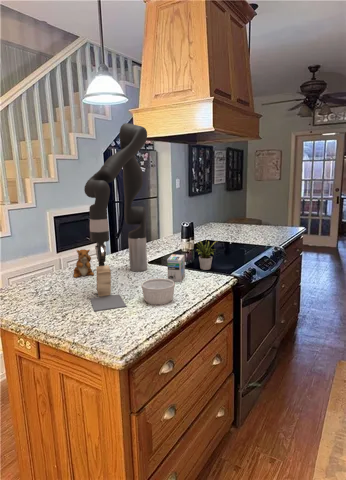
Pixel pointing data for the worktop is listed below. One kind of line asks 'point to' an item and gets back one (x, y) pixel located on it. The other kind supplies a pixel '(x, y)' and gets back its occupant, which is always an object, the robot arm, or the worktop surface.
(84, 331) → the worktop surface
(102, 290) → the maple block
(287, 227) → the worktop surface
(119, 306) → the slate mat
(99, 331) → the worktop surface
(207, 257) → the house plant
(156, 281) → the ramekin
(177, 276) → the light bulb box
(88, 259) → the stuffed squirrel
